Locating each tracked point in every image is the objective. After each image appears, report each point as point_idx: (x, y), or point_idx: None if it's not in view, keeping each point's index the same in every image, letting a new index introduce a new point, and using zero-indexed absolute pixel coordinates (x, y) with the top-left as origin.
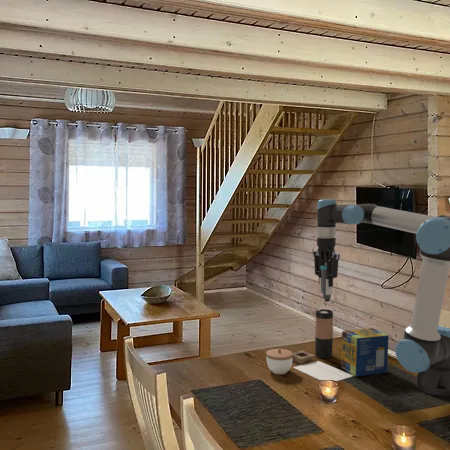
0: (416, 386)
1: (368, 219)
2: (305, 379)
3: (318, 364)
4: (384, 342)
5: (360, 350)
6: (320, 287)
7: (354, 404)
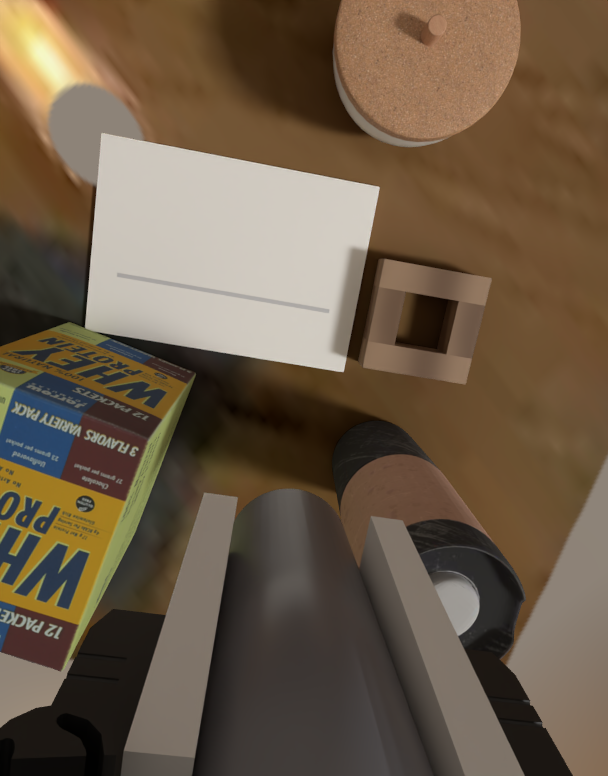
0: None
1: None
2: (225, 97)
3: (308, 327)
4: None
5: None
6: (398, 575)
7: None
